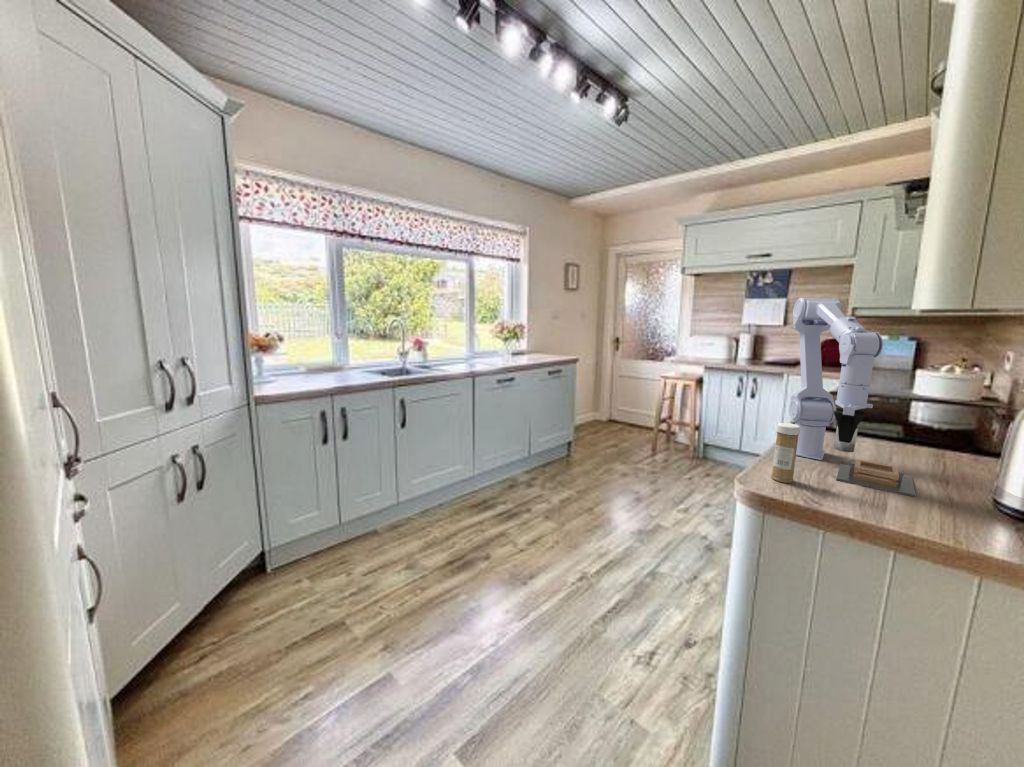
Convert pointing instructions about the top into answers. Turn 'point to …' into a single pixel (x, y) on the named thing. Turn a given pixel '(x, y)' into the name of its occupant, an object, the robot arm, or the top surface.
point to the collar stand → (876, 477)
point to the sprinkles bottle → (785, 452)
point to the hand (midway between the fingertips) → (845, 439)
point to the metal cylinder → (843, 445)
